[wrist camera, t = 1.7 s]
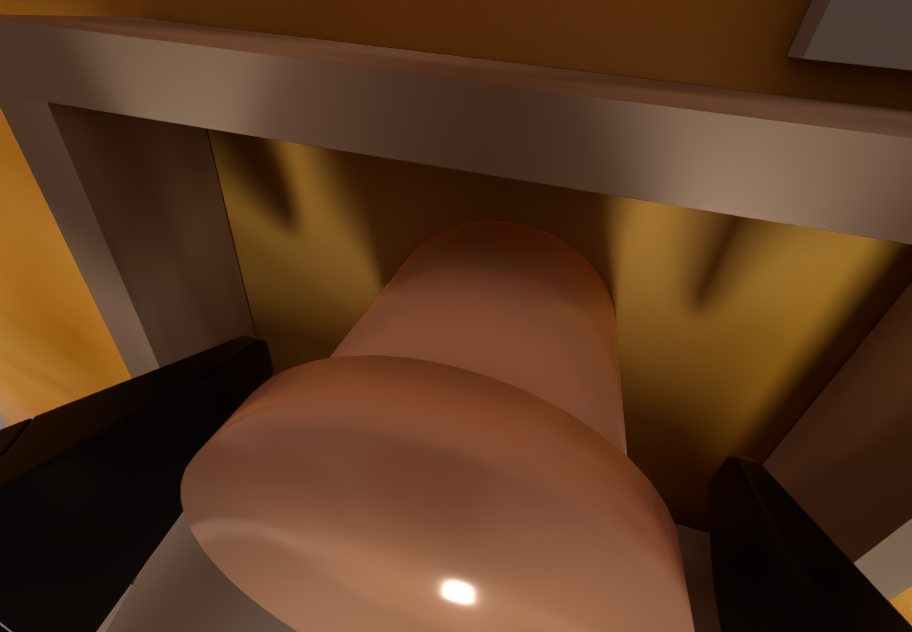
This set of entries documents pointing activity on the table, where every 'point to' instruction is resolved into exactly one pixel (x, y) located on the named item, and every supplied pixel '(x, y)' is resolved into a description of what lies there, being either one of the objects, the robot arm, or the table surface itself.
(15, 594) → the robot arm
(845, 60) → the grey square panel
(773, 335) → the table surface
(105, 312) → the hinged wooden box
